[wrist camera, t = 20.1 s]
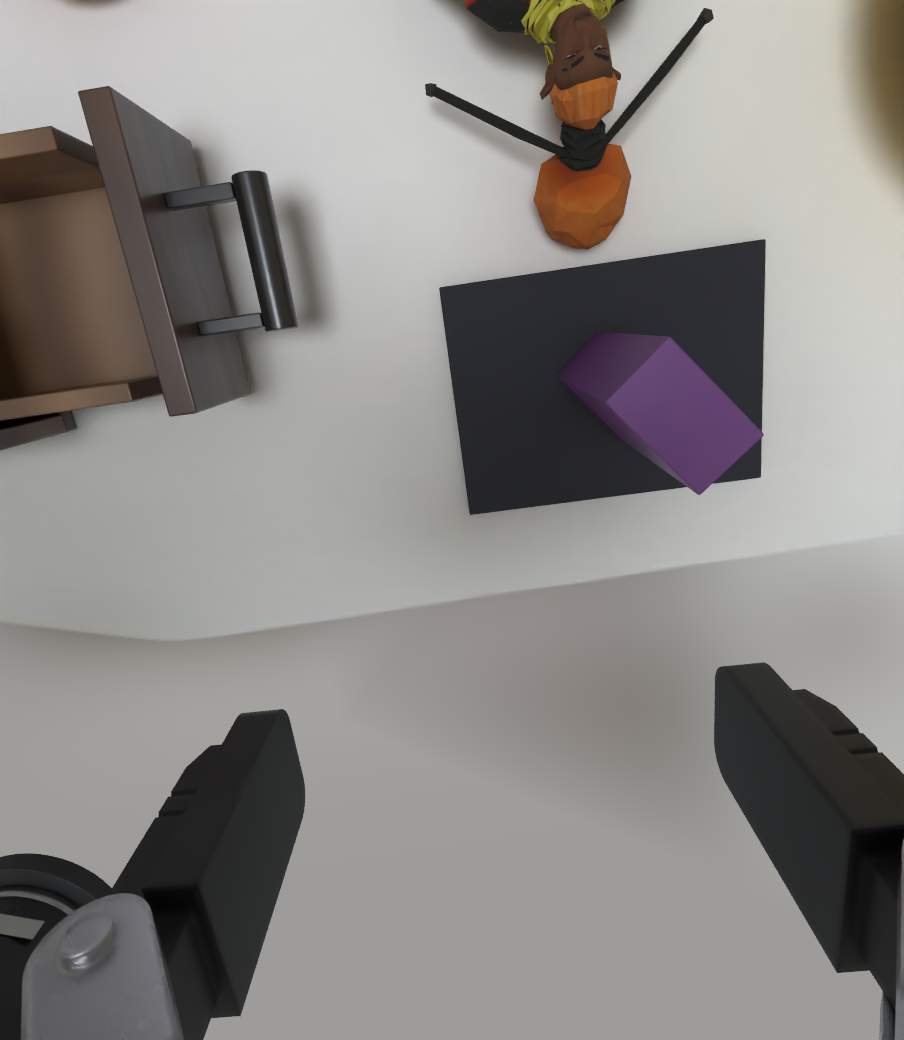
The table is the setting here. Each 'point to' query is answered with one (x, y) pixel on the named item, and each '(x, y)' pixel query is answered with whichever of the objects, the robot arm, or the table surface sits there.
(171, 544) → the table surface
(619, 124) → the figurine
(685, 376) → the purple rectangular block
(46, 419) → the cabinet
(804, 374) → the table surface
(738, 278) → the mat
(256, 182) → the drawer
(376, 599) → the table surface
